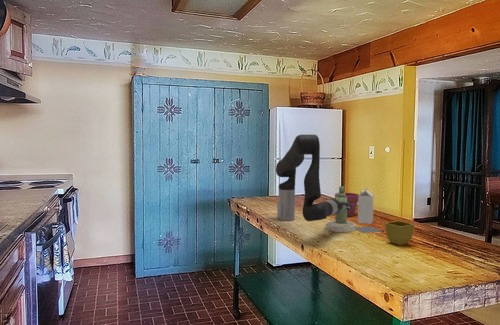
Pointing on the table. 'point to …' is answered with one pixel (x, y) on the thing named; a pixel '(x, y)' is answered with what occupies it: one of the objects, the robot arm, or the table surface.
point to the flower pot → (399, 232)
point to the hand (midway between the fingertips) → (343, 203)
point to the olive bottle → (342, 214)
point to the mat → (367, 229)
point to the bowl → (340, 226)
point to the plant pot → (353, 200)
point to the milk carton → (365, 207)
